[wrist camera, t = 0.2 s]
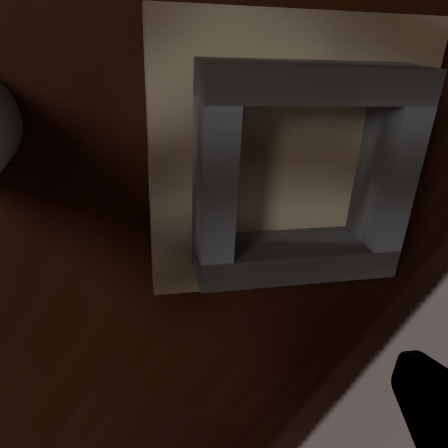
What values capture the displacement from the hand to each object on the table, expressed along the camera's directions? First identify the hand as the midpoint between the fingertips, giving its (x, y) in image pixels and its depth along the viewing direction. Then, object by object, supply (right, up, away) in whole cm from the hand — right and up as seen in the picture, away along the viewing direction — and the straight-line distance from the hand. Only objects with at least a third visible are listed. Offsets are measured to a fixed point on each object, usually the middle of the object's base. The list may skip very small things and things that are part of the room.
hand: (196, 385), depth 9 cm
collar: (+4, +7, +14) cm, 16 cm away
